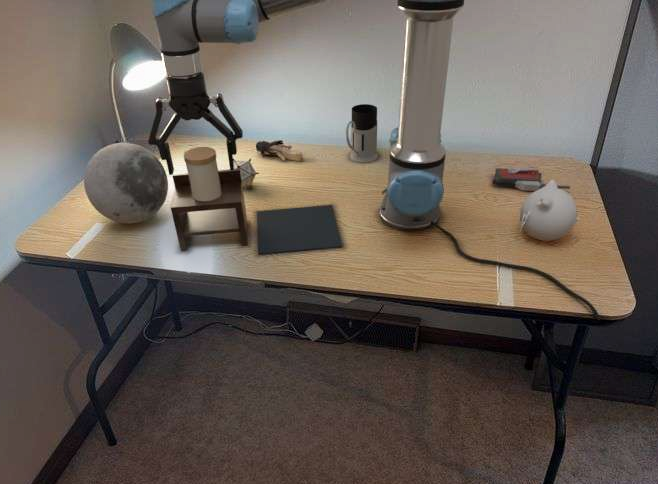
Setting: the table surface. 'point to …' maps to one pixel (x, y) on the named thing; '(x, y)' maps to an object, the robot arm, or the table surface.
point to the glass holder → (363, 133)
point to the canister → (203, 173)
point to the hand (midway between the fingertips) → (202, 170)
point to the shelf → (209, 209)
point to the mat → (297, 230)
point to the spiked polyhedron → (245, 172)
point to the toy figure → (278, 150)
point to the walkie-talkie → (520, 178)
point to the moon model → (126, 183)
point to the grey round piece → (548, 213)
